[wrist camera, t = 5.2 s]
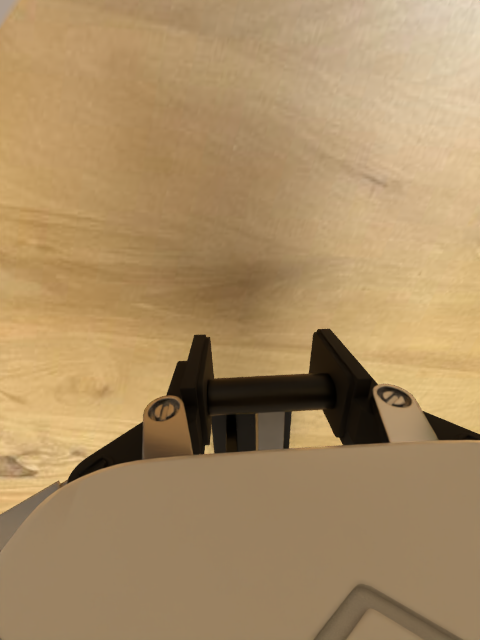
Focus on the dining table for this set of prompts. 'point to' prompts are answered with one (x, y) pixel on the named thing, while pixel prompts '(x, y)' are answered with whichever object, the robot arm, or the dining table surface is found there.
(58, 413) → the dining table surface
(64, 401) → the dining table surface
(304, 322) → the dining table surface
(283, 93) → the dining table surface
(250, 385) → the lever
